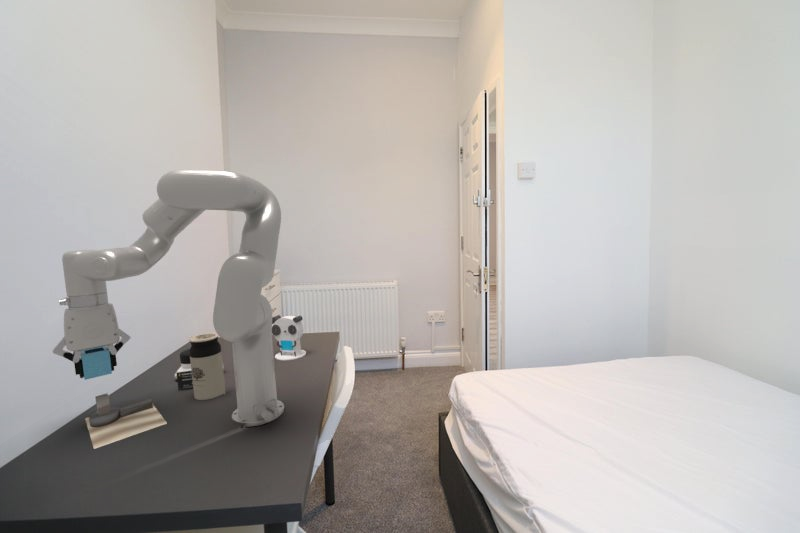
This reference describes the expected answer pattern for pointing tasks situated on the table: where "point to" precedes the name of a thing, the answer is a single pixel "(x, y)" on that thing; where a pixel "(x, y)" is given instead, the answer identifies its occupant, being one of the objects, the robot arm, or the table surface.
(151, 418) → the door lever plate
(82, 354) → the hollow square tube
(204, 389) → the travel mug
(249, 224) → the robot arm
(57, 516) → the table surface
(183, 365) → the medicine bottle
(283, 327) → the panda figurine
